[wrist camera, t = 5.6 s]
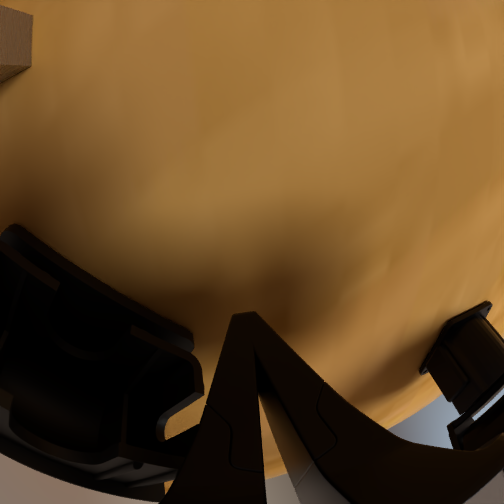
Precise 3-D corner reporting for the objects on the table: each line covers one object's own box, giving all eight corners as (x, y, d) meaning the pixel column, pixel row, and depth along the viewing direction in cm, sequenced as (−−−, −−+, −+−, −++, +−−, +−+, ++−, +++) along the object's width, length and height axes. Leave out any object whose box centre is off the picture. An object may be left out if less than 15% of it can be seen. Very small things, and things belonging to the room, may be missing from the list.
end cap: (-16, 315, 9) (-60, 420, 3) (3, 209, 7) (-106, 343, 1) (135, 398, 14) (136, 505, 8) (208, 337, 12) (230, 491, 6)
